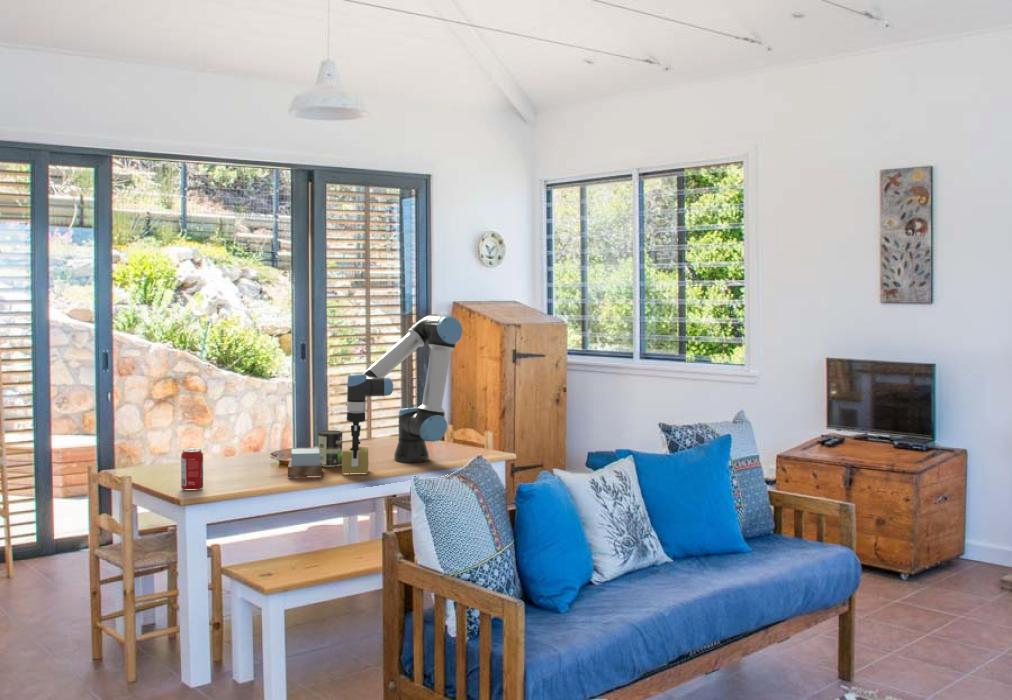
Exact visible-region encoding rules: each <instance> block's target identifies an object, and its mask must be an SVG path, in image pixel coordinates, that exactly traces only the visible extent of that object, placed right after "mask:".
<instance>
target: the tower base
mask: <svg viewBox="0 0 1012 700" xmlns="http://www.w3.org/2000/svg"><path fill="white" fill-rule="evenodd" d="M321 473H323V467H322V460H320V466H291V460H289V461H288V466H287V478H288V477H307V476H321V477H322V475H321Z"/></svg>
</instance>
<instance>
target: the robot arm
mask: <svg viewBox="0 0 1012 700" xmlns="http://www.w3.org/2000/svg"><path fill="white" fill-rule="evenodd" d="M462 336H463V327H462V324H461V322H460V320H459V319H457V318H456V317H454V316H452V315H447V314H446V315H445V314H444V315H443V314H433V313H432V314H429V315H426V316H424V317H422V318H421V319H420V320H417V322H415V323H414V324H413V325H412V326H410V328H409V329H407V334H406V335H404V336H403V337H402V338H401V339H400V340H398V341H397V342H396V343H395V344H394V345H393V346H392V347H391V348H389V349H388V350H387V351H386V352H385V353H384V354H382V356H381V357H380V358H378V359H377V360H376V361H374V363H372V364H371V365H370V366H369V367H368V368H367V369H365V370H364V372H362V373H349V374H348V376H347V384H346V386H347V389H346V392H347V395H346V398H347V399H346V403H345V406H346V411H347V412H346V421H347V422H349V423H352V424H351V425H350V432H351V434H350V436H351V438H352V440H351V442H352V444H351V445H352V446H351V447H350V448H349V449H350V450H352V460H351V466H358V451H359V448H358V447H360V445H361V441H360V439H359V437H360V435H361V427H362V426H361V424H360V423H363V422H366V412H365V411H366V410H367V407H366V406H367V405H366V404H367V402H366V401H367V398H368V397H386V396H390V395H392V393H393V392H394V391H393V390H394V383H393V380H392V379H391V378H390V377H387V375H389V373H391V372H392V371H393V370H394V369H395V368H396V367H398V366H399V365H400V364H402V362H403V361H404V360H406V359H407V358H408V357H409V356H411V354H413V353H414V352H415V351H416V350H417V349H418V348H419V347H421V348H423V347H424V346H425V345H426V344H427V345H428V347H429V348H430V352H429V360H428V366H427V371H426V379H425V385H424V388H423V389H424V390H423V394H422V395H423V397H422V402H421V405H419V406H418V407H405V408H400V409H399V410H398V443H397V446H396V449H395V451H394V455H393V457H394V458H393V459H394V461H396V462H401V463H422V462H423V461H424V462H428V461H429V460H430V458H429V457H430V456H429V455H430V454H429V450H428V448H427V445H426V442H430V443H431V442H435V443H436V442H438V441H440V440H441V439H443V438H444V436H445V435H446V433H447V430H448V423H447V421H446V418H445V410H444V408H443V402H444V396H445V390H446V382H447V376H448V370H449V364H450V360H451V352H452V351H454V350H455V349H456V344H457V343H458V342H459V341H460V340H461V339H462Z"/></svg>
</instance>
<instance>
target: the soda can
mask: <svg viewBox="0 0 1012 700" xmlns="http://www.w3.org/2000/svg"><path fill="white" fill-rule="evenodd" d="M180 480H181V481H180V483H181V484H180V485H181V486H180V487H181V489H182V490H184V489H200V488H201V489H203V488H204V453H203V452H202V448H201V449H200V448H186V449H183V450H182V453H181V454H180ZM201 489H200V490H201Z"/></svg>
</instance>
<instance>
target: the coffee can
mask: <svg viewBox="0 0 1012 700" xmlns="http://www.w3.org/2000/svg"><path fill="white" fill-rule="evenodd" d="M343 433H344V432H343V431H342V430H332V429H331V430H330V429H329V430H327V429H326V430H321V431H320V430H319V431H317V434H318V435H317V436H318V437H317V438H318V439H317V444H318V445H317V448H319V452H320V460H322V466H323V467H324V468H334V467H335V466H337V467H342V451H343ZM323 467H322V468H323ZM335 468H336V467H335Z"/></svg>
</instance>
